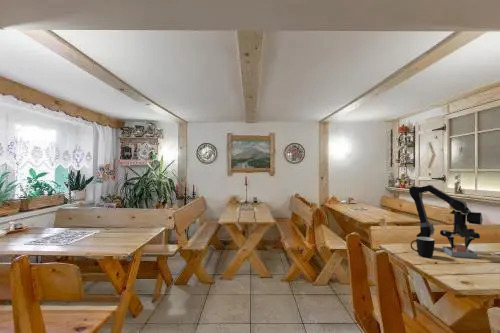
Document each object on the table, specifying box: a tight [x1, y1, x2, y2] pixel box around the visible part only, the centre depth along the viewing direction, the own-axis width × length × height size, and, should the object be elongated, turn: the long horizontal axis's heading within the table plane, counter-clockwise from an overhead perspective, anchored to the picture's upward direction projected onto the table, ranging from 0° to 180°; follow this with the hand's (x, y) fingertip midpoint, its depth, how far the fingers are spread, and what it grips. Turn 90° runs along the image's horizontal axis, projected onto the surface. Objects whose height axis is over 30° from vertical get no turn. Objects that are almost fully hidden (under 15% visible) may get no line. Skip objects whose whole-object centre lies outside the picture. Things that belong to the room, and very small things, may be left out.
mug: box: [410, 236, 436, 259], centre depth 172 cm, size 12×9×10 cm
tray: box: [442, 246, 478, 260], centre depth 175 cm, size 13×12×3 cm
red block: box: [453, 243, 466, 252], centre depth 175 cm, size 5×5×5 cm
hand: (459, 248), depth 175 cm, fingers open, 7 cm apart
